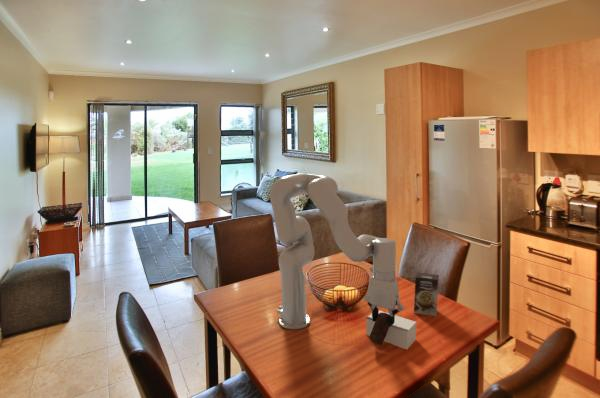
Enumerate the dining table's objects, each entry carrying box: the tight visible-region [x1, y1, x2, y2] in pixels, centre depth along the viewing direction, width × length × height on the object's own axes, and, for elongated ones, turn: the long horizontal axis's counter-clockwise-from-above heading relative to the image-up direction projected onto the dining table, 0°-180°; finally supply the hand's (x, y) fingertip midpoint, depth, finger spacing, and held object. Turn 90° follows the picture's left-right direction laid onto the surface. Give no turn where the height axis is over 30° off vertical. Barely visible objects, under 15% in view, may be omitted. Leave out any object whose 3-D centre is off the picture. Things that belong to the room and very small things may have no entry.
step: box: [365, 310, 417, 350], centre depth 134 cm, size 16×8×7 cm, turn 51°
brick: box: [368, 312, 389, 346], centre depth 128 cm, size 11×4×5 cm
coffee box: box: [413, 272, 439, 317], centre depth 152 cm, size 9×6×16 cm
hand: (383, 322), depth 129 cm, fingers open, 5 cm apart
